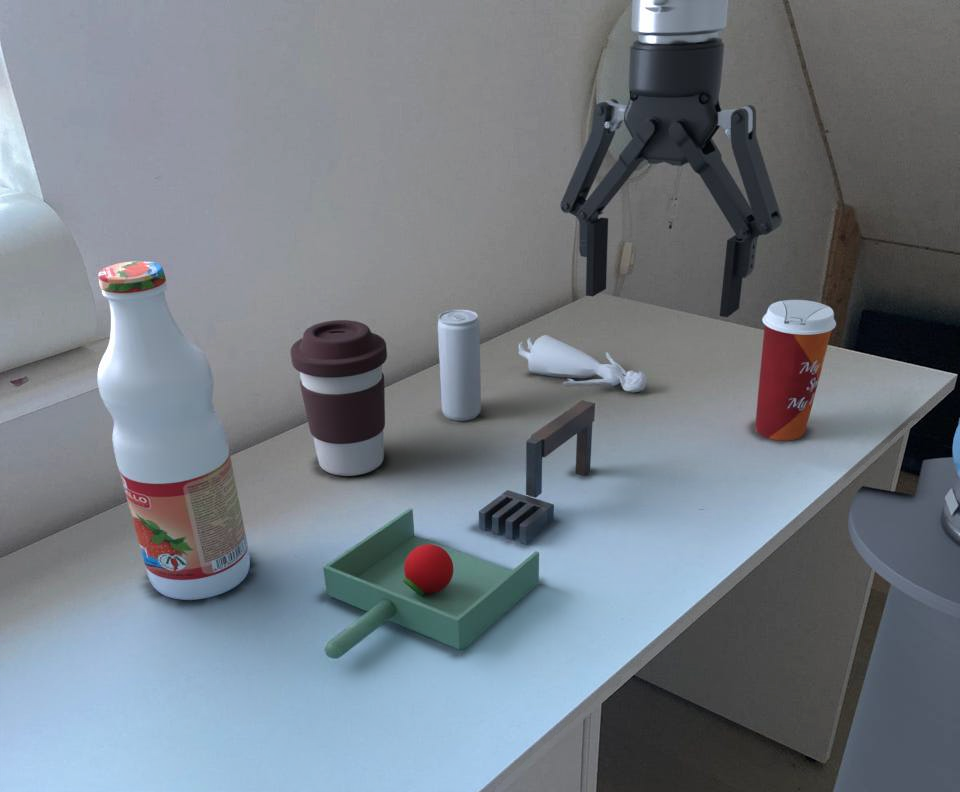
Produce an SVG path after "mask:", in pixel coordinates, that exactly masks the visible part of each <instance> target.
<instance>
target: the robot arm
mask: <svg viewBox="0 0 960 792" xmlns="http://www.w3.org/2000/svg"><path fill="white" fill-rule="evenodd" d="M631 5H632V6H631V24H630V25H631V27H630V29H631V30H630V31H632V33H634V34H635V35H637V37H638V38H637V40H635V41H633V42H632V45H630V46H629V66H628V67H629V68H628V74H629V75H628V92H629V99H628V103H627V104H621V103H619V101H618V100H617V99H615V98H611V99H608V100H604V101H601V102H598V103H597V104H595V106H594V108H593V116H592V125H591V131H590V134H589V136H588V139H587V140H586V143H585V145H584V148H583V150H582V152H581V154H580V157H579V160H578V162H577V164H576V166H575V169H574V170H573V173H572V176H571V178H570V181H569V182H568V185H567V187H566V190H565V192H564V194H563V197H562V199H561V201H560V210H561V212H562V213H564V214H570V215H572V216H573V217H576V219H577V220H578V223H579V232H578V233H579V237H578V239H579V242H578V251H579V255H580V257H582V258H583V257H584V258H586V264H585V265H586V270H585V271H586V272H585V296H587V297H595V296H596V295H598V294H599V293H601V292H604V291H605V290H606V289H607V273H608V241H609V240H608V239H609V238H608V237H609V217H599V216H601V215H603V214H604V211H605V209H606V207H607V205H609V203H610V202H611V201H612V200H613V199H614V197H615V196H616V194H617V193H618V192H619V191H620V189H622V187H623V186H624V184H625V183H626V182H627V181H628V180H629V178H630V177H631V176H632V174H634V172H635V171H636V170H637V168H638V167H639V166H640V165H641V164H642V162H644V161H645V160H646V161H647V164H652V165H657V164H662V163H666V164H668V165H671V166H675V167H676V166H678V167H682V166H684V165H687V164H689V165H690V168H691V169H692V170H693V171H694V172H695V173H696V174H697V175H699V177H700V178H701V180H702V182H703V183H704V185H705V186H706V188H707V189H708V191H709V193H710V194H711V196H712V198H713V199H714V201H715V203H716V204H717V206H718V208H719V209H720V211H721V212H722V214H723V216H724V218H725V219H726V221H727V223H728V224H729V225H730V227H731V229H732V231H733V232H734V234H735V235H733V236H732V237H729V238H728V239H727V241H726V246H725V247H726V249H725V257H724V266H723V268H724V269H723V277H722V278H723V279H722V286H721V287H722V288H721V296H720V307H719V317H722V318H723V317H724V318H729V317H730V316H731V315H733V314H734V313H736V311H738V310H740V304H741V294H742V285H743V279H746V278H747V277H749V276H750V275H751V274H752V273H753V271H754V268H755V263H756V262H755V261H756V254H757V253H756V252H757V245H758V238H759V236H763V235H768V234H770V233H772V232H773V231H775V230H776V229H778V228H779V227H780V226H781V225H782V223H783V217H782V214H781V211H780V207H779V204H778V202H777V198H776V195H775V192H774V188H773V185H772V183H771V179H770V176H769V173H768V169H767V166H766V163H765V160H764V156H763V153H762V150H761V148H760V144H759V141H758V138H757V137H758V136H757V110H756V108H755V106H754V105H751V104H747V105H744V106H742V107H740V108H735V109H724V110H722V107H721V104H720V92H721V85H722V75H723V63H724V62H723V61H724V52H725V43H724V42H723V39H722V38H721V37H718V35H719V32H723V30H725V28H727V22H728V21H727V20H728V8H729V0H632V3H631ZM623 122H624V125H625V127H626V129H627V130H628V133H629V134H630V136H631V139H630V141H629V142H628V143H627V145H626V146H625V147H624V148H623V150H622V151H621V153H620V154H619V156H618V159H617V160H616V161H615V162H614V164H613V165H612V167H611V168H610V169H609V171H608V172H607V173H606V174H605V175H604V177H603V178H602V179H601V181H600V182H599V183H598V184H597V186H596V187H595V189H594V190H593V191H592V193H590V190H591V189H592V187H593V185H594V182H595V179H596V177H597V175H598V173H599V171H600V168H601V166H602V165H603V162H604V160H605V157H606V156H607V154H608V151H609V148H610V146H611V144H612V141H613V139H614V137H615V135H616V131H617V130H619V129H620V128H621V127H622V124H623ZM720 127H721V128H722V129H723V130H724V134H725V136H726V138H727V139H729V140H730V143H731V149H732V153H733V156H734V159H735V162H736V165H737V168H738V172H739V175H740V178H741V181H742V184H743V187H744V190H745V193H746V196H747V199H748V201H747V199H746V198H745V196H744V194H743V192H742V191H741V189H740V187H739V186H738V184H737V182H736V180H735V179H734V177H733V175H732V174H731V172H730V171H729V169H728V168H727V166H726V165H725V163H724V161H723V159H722V153H721V150H720V149H719V148H718V146H717V144H716V143H715V141H714V139H713V137H714V136H715V134H716V133H717V132H718V130H719V129H720ZM589 194H590V195H589ZM588 195H589V196H588ZM587 197H588V198H587ZM957 424H958V425H957V427H956V428H955V429H956V430H955V432H954V436H953V440H952V457H953V460H954V463H955V467H956V470H957V472H958V476H959V478H960V418H959V419H958V421H957ZM945 500H946V501H945V504H944V507H943V510H942V514H941V520H940V521H941V525H942V528H943V530H944V532H945V533H946V534H947V536H948V537H949V538H950V539H951V540H952V541H953V542H954V543H956V544H957V545H958V546H960V480H959V481H958V482H957V484H956V485H955V486H954V488H953V489H952V488H951V489H950V491H949V492H948V493H947V495H946V496H945Z"/></svg>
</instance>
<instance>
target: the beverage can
mask: <svg viewBox="0 0 960 792" xmlns="http://www.w3.org/2000/svg"><path fill="white" fill-rule="evenodd" d="M480 330H481V329H480V320H479V314H478V312H475V311H473V310H469V309H450V310H446V311H444V312H441V313H440V314H438V321H437V335H438V336H437V339H438V341H437V342H438V357H439V378H440V396H441V397H440V398H441V399H440V400H441V412H442V413H443V415H444V416H445V418H447V419H449V420H451V421H456V422H467V421H471V420H474V419H476V418H477V417H478V416H479V414H480V413H481V411H482V387H481V386H482V385H481V380H482V379H481V335H480V332H481V331H480Z"/></svg>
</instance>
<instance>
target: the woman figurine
mask: <svg viewBox="0 0 960 792" xmlns="http://www.w3.org/2000/svg"><path fill="white" fill-rule="evenodd" d="M526 343H527V349H528V350H529V351H530V352H529V351H527V350H526V349H525V347H524V345H523V341H521V342H520V343H519V344H518V353H517V354H518V355H519V356H520V357H522V358H524V359H526V360H527V366H528V371H529V372H530V373H531V374H533V375H540V376H548V377H554V378H567V379H566V380H567V381H563V383H562V385H563V386H564V387H569V388H570V387H573V386H585V385H586V386H597V385H599V386H601V385H603V386H610V387H614V386H618V385H619V384H620V386H621V388H622V389H623V390H624V391H625V392H628V393H633V394H634V393H637V392H642V391H643V390H644V389H645V388H646V386H647V383H648V378H647V376H646V374H645V373H644V372H643V371H641V370H638V372H636V371H634V370H633V369H631V370H629V371H626V370H625V369H624V368H623V367H622V365H620V364H619V363H617V361H614V359H613V358H612V356H611V354H610V353H609V352H605V358H606V359H607V361H609V362H610V364H609V363H601V362H600V361H598V360H597V359H596V358H594V357H592V356H591V355H589V354H587V353H585V352H584V351H582V350H580V349H578V348H575V347H574V346H571V345H569V344H567V343H565V342H563V341H561V340H558V339H557V338H554V337H551V335H547V334H543V335H541V336H540V337H538V338H537V339H536V340H535V341H534V342H533V341H532V337H531V336H530V337H529V338H527V342H526ZM595 376H598V377H600V378H598V379H597V378H596V379H595V378H593V379H589V380H588V378H592V377H595ZM574 379H587V380H577V381H576V380H574Z"/></svg>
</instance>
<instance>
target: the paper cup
mask: <svg viewBox="0 0 960 792" xmlns="http://www.w3.org/2000/svg"><path fill="white" fill-rule="evenodd" d="M761 321H762V323H763V324H764V329H763V338H762V340H763V341H762V347H761V348H762V349H761V360H760V370H759V379H758V380H759V382H758V389H757V401H756V413H755V431H756V433H757V434H758V435H760V436H762V437H763V438H766V439H769V440H774V441H780V442H781V441H782V442H783V441H785V442H786V441H787V442H788V441H794V440H798V439H800V438H802V437H803V436H804V435H805V433H806V429H807V426H808V422H809V419H810V416H811V412H812V407H813V403H814V400H815V397H816V392H817V388H818V386H819V381H820V378H821V373H822V369H823V365H824V361H825V358H826V353H827V351H828V346H829V342H830V339H831V335H832V331H833V329H835V328H836V327H837V322H836V320H835V312H834V310H833V308H831V306H829V305H827V304H824V303H820V302H818V301H812V300H806V299H785V300H778V301H776V302H773V303H771V304H770V305H769V306H768V308H767V311H766V313H765V314H764V315H763V316H762V320H761Z"/></svg>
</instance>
